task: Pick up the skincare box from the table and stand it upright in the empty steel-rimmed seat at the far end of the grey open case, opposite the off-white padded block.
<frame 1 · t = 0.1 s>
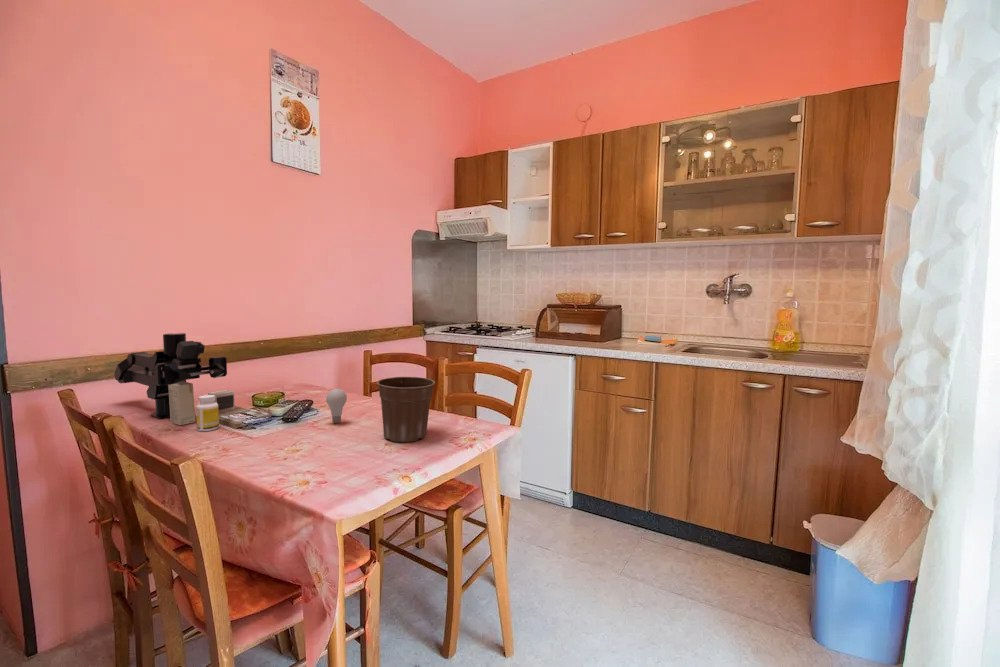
hand: (207, 373, 129), 17 cm above the table, tool horizontal, fingers open, 9 cm apart
supplement bottle: (208, 429, 131), on the table
plant pot: (406, 436, 129), on the table
grey open case: (234, 418, 142), on the table
lightbulb: (336, 423, 140), on the table
skincare box: (182, 423, 136), on the table
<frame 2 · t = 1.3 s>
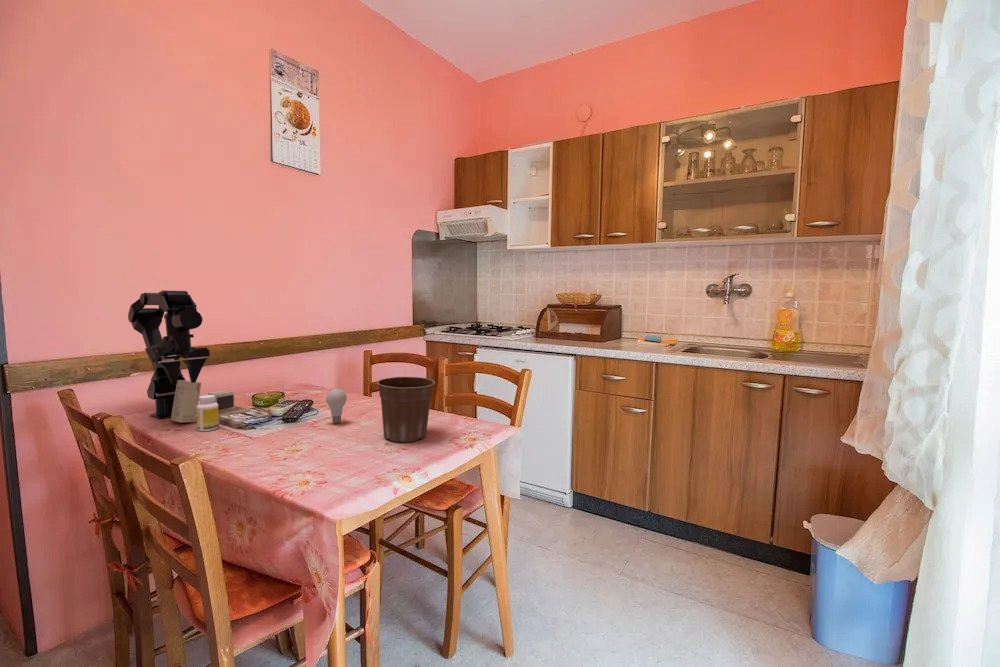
hand: (183, 383, 134), 12 cm above the table, tool pointing down, fingers open, 9 cm apart
skincare box: (182, 421, 136), on the table, touching gripper
everything else where it was.
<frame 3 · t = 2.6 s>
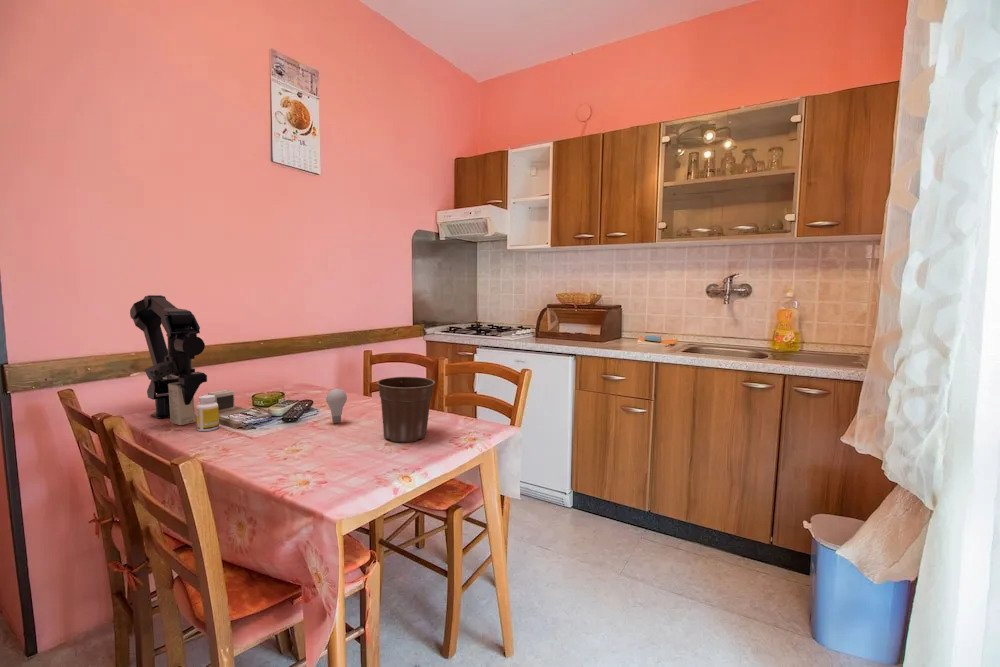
hand: (181, 403, 136), 6 cm above the table, tool pointing down, fingers closed on skincare box, 6 cm apart
skincare box: (182, 423, 136), on the table, touching gripper
everything else where it was.
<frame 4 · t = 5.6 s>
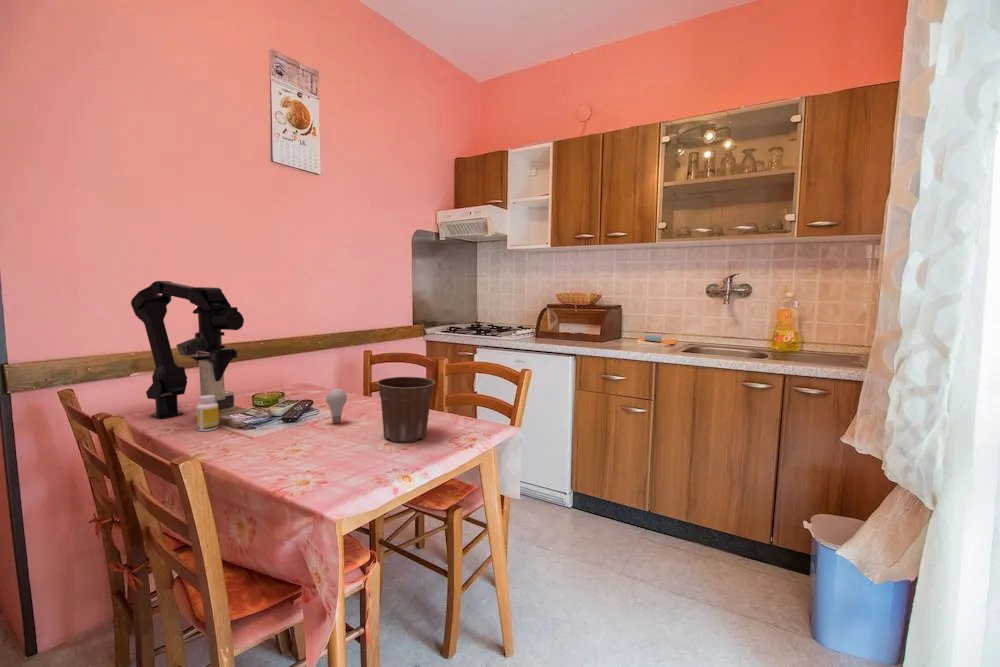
hand: (212, 379, 136), 13 cm above the table, tool pointing down, fingers closed on skincare box, 6 cm apart
skincare box: (212, 400, 137), point 7 cm above the table, touching gripper
everything else where it was.
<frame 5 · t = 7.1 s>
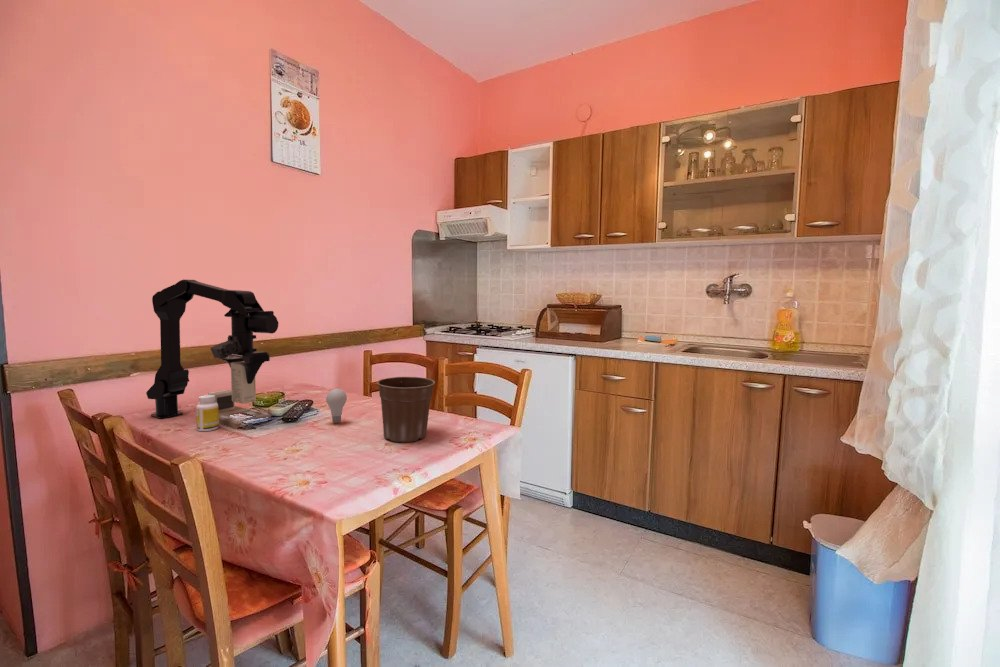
hand: (243, 382, 138), 12 cm above the table, tool pointing down, fingers closed on skincare box, 6 cm apart
skincare box: (243, 402, 138), point 6 cm above the table, touching gripper
everything else where it was.
when the fingers open (8 cm above the table, at t = 8.5 s): skincare box stays where it is, resting on grey open case.
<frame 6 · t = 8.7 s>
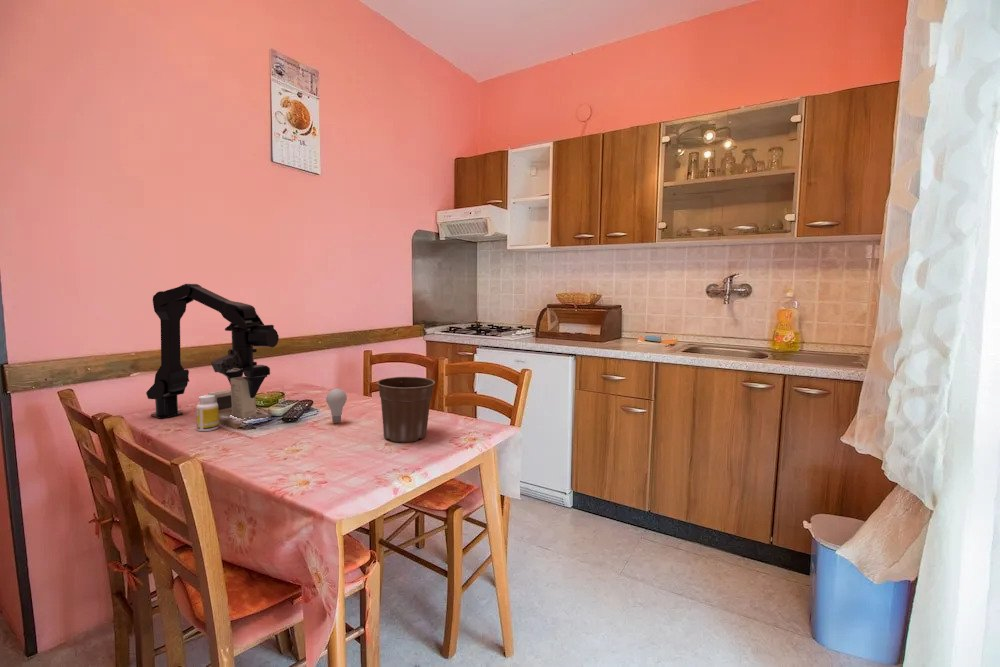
hand: (244, 395, 138), 8 cm above the table, tool pointing down, fingers open, 9 cm apart
skincare box: (244, 417, 139), point 1 cm above the table, touching grey open case
everything else where it was.
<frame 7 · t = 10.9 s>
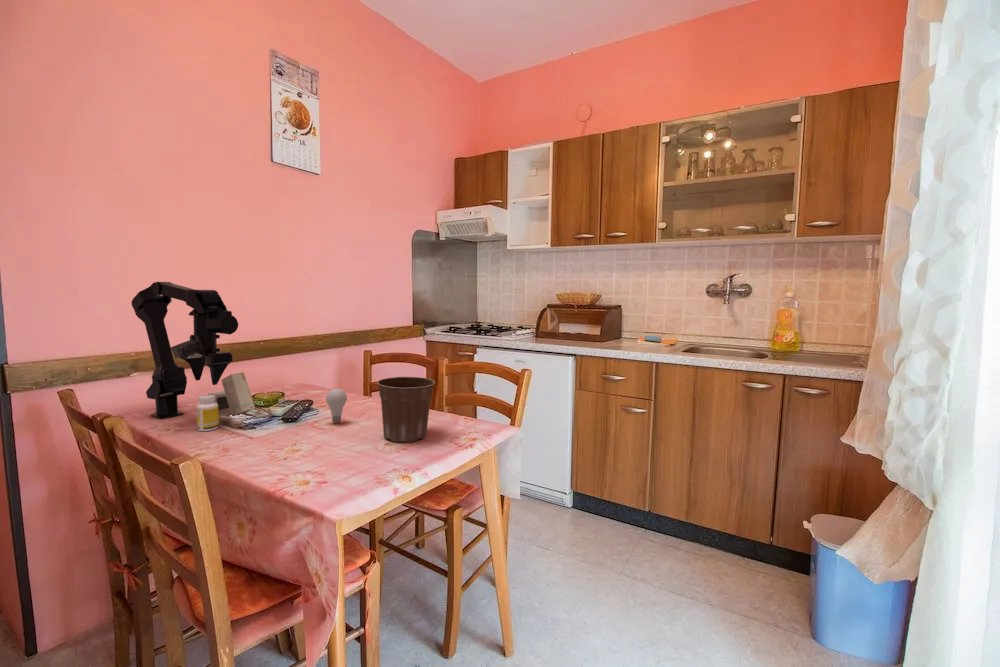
hand: (206, 382, 136), 13 cm above the table, tool pointing down, fingers open, 9 cm apart
skincare box: (243, 413, 139), point 3 cm above the table, touching grey open case
everything else where it was.
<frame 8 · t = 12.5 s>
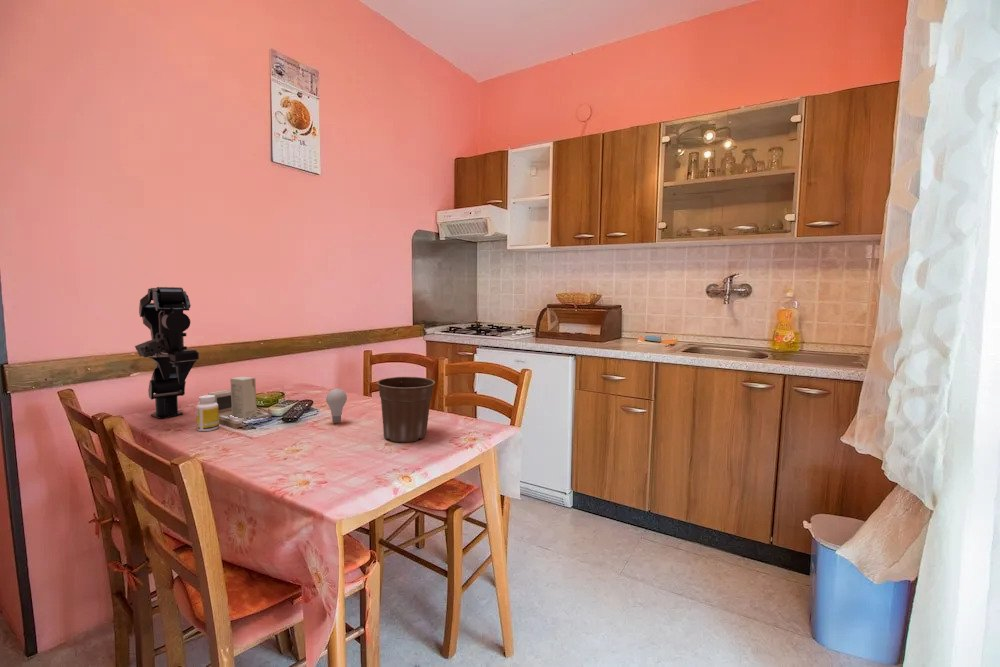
hand: (173, 381, 133), 13 cm above the table, tool pointing down, fingers open, 9 cm apart
skincare box: (244, 417, 139), point 1 cm above the table, touching grey open case
everything else where it was.
at the end: skincare box 0.2 cm from the target spot on the grey open case, point 1.4 cm above the grey open case's base; skincare box tilted 0°; the gripper is holding nothing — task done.
